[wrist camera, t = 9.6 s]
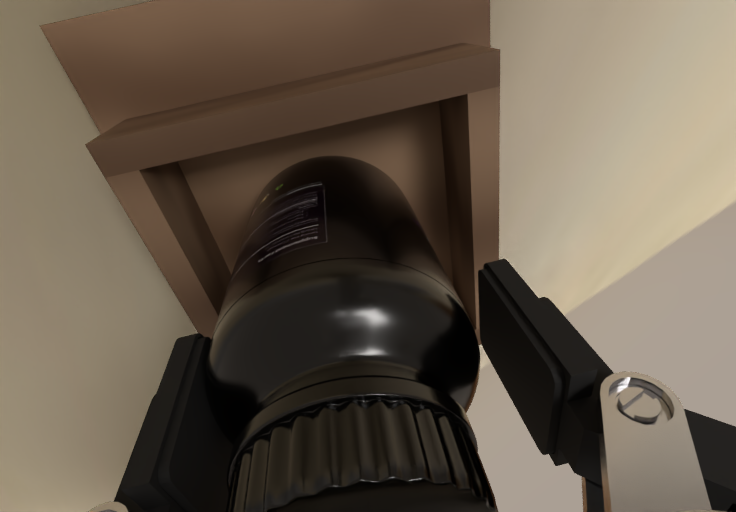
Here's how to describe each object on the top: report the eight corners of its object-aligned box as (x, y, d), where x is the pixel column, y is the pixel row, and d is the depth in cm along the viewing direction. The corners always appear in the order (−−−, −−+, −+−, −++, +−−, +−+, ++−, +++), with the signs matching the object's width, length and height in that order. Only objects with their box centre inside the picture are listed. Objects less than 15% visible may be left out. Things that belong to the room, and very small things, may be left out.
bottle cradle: (56, 24, 12) (-32, 29, 9) (476, -68, 13) (539, -96, 9) (251, 380, 22) (243, 445, 19) (484, 322, 23) (516, 376, 19)
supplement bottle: (441, 223, 17) (627, 526, 7) (334, 313, 19) (362, 648, 9) (328, 109, 14) (378, 367, 4) (214, 231, 16) (53, 608, 6)
